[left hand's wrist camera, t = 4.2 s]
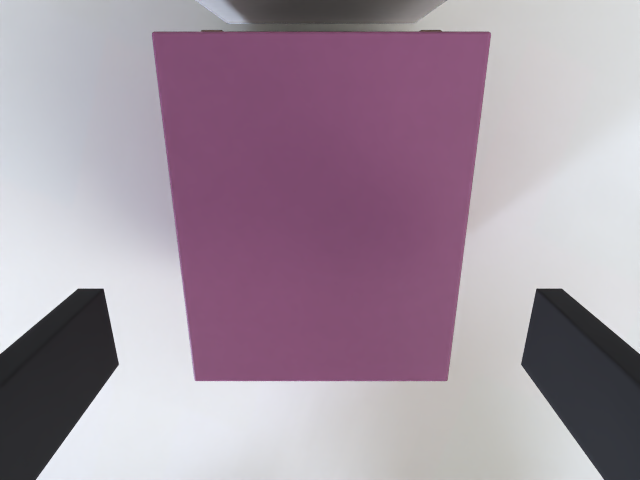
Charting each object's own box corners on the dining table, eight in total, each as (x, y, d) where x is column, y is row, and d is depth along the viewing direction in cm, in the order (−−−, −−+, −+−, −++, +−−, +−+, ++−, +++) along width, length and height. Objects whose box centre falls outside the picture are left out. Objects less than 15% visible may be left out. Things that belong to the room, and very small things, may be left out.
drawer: (216, -134, 20) (144, -288, 12) (426, -134, 20) (499, -289, 12) (240, 230, 26) (205, 294, 18) (400, 230, 26) (437, 294, 18)
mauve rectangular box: (221, 55, 23) (150, 30, 14) (420, 55, 23) (492, 30, 14) (237, 280, 28) (193, 382, 18) (403, 280, 28) (448, 382, 18)
